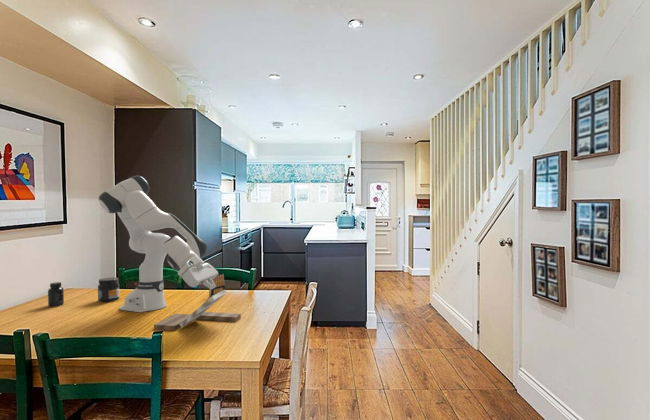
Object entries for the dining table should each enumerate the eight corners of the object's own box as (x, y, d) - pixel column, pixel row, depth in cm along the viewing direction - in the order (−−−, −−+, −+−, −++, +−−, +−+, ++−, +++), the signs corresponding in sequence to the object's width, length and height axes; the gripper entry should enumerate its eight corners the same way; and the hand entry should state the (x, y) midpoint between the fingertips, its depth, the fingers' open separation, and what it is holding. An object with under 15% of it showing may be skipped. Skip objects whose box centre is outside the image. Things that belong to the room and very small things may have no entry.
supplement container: (123, 299, 207) (123, 278, 207) (103, 303, 199) (103, 281, 198) (113, 296, 213) (113, 276, 213) (94, 301, 204) (93, 279, 204)
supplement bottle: (45, 306, 194) (44, 283, 193) (58, 303, 200) (58, 281, 200) (53, 307, 191) (53, 284, 191) (66, 304, 197) (66, 282, 197)
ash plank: (181, 327, 158) (179, 324, 158) (196, 319, 169) (193, 315, 170) (214, 299, 155) (212, 296, 155) (227, 292, 167) (224, 289, 167)
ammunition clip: (211, 297, 212) (211, 276, 212) (209, 296, 213) (209, 276, 213) (225, 293, 221) (225, 273, 221) (223, 292, 222) (222, 273, 222)
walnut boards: (153, 329, 158) (153, 324, 158) (181, 314, 178) (181, 310, 178) (220, 333, 152) (220, 328, 152) (240, 317, 173) (240, 313, 173)
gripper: (200, 266, 173) (219, 287, 171) (174, 274, 153) (196, 298, 151) (208, 256, 172) (228, 278, 171) (184, 264, 152) (206, 288, 150)
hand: (213, 288), depth 161 cm, fingers closed
